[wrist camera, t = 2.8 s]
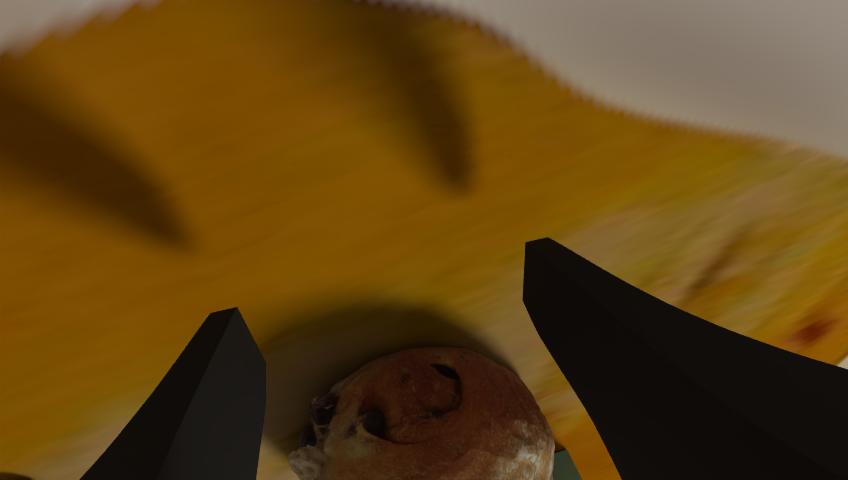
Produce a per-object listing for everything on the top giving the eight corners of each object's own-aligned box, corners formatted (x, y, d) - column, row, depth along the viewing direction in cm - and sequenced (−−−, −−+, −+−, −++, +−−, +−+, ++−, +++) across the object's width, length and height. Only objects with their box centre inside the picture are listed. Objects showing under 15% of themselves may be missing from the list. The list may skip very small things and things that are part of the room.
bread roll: (357, 424, 23) (415, 591, 20) (209, 438, 15) (262, 749, 11) (508, 336, 22) (602, 497, 18) (447, 291, 13) (606, 589, 9)
